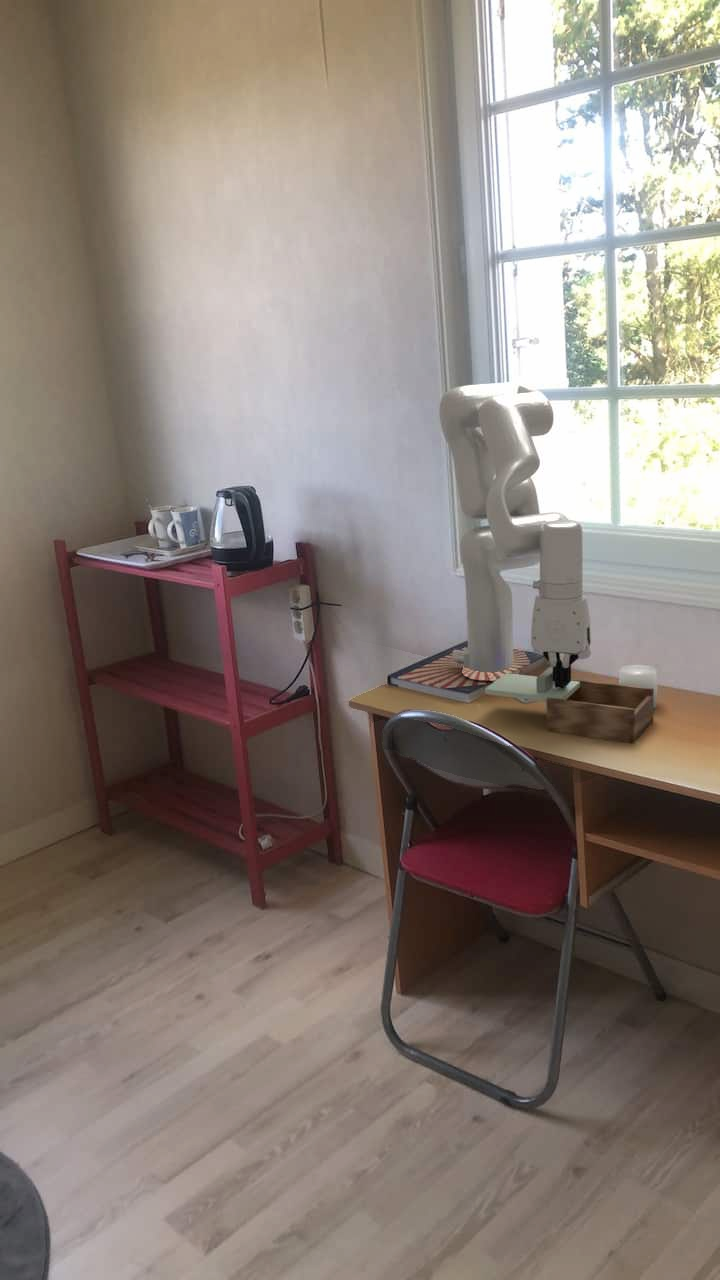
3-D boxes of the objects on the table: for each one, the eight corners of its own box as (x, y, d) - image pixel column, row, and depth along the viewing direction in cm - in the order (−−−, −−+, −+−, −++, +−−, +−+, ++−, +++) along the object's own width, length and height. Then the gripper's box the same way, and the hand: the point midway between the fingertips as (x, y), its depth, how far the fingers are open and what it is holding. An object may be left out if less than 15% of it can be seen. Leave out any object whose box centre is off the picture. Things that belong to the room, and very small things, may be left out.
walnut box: (546, 730, 199) (546, 698, 197) (569, 709, 208) (569, 678, 207) (633, 743, 191) (633, 709, 189) (653, 720, 200) (653, 688, 199)
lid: (484, 693, 204) (484, 674, 203) (506, 677, 212) (505, 659, 211) (561, 703, 197) (560, 683, 196) (580, 686, 205) (580, 667, 204)
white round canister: (614, 708, 208) (614, 673, 206) (625, 697, 213) (625, 663, 211) (650, 713, 204) (651, 677, 202) (661, 701, 210) (661, 666, 208)
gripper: (514, 591, 197) (516, 687, 202) (594, 597, 189) (594, 697, 195) (529, 581, 203) (531, 675, 208) (608, 587, 195) (607, 684, 201)
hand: (561, 685), depth 201 cm, fingers closed
